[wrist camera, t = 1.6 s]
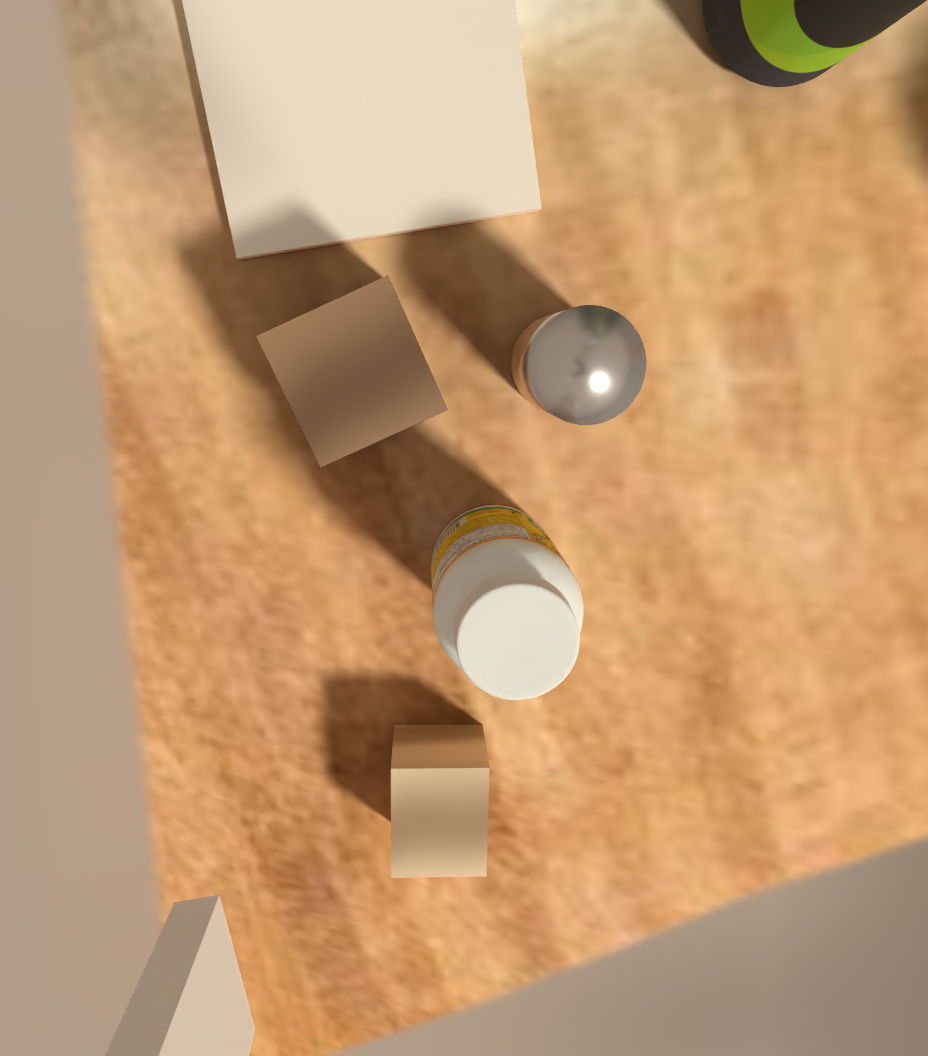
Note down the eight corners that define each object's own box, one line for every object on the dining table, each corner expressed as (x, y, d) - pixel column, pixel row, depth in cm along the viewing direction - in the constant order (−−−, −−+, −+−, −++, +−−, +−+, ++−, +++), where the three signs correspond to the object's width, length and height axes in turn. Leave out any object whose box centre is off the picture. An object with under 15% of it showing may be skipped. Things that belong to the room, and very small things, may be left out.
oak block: (394, 723, 36) (390, 768, 32) (482, 723, 36) (489, 767, 33) (394, 822, 37) (391, 877, 33) (479, 821, 38) (486, 876, 34)
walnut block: (280, 338, 32) (255, 336, 28) (392, 286, 32) (387, 275, 27) (335, 450, 33) (320, 467, 29) (444, 401, 33) (447, 409, 28)
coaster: (167, -85, 29) (162, -94, 28) (494, -136, 29) (495, -145, 29) (240, 259, 32) (236, 257, 31) (539, 211, 32) (541, 208, 31)
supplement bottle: (423, 511, 34) (423, 571, 25) (547, 495, 34) (594, 549, 25) (439, 630, 35) (444, 729, 26) (559, 614, 35) (607, 708, 26)
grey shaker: (504, 322, 33) (521, 315, 27) (600, 306, 33) (639, 296, 27) (518, 419, 33) (538, 433, 28) (612, 403, 34) (651, 414, 28)
